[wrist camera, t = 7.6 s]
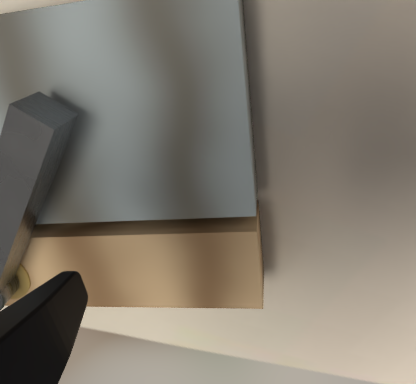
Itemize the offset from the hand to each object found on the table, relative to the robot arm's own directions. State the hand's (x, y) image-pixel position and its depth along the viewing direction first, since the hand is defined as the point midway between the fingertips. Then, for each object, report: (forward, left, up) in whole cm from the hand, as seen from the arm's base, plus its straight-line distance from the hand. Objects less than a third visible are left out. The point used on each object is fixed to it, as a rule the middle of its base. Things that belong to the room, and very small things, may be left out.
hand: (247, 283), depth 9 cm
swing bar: (+12, +2, -7) cm, 14 cm away
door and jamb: (+9, +1, -10) cm, 14 cm away
